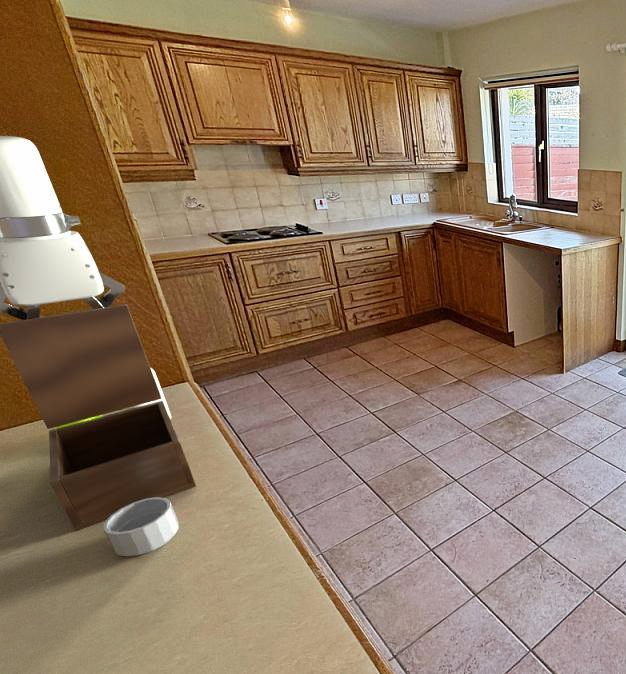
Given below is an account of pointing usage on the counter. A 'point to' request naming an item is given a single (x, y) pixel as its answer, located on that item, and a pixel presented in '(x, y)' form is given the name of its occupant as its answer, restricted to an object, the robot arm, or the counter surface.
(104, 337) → the lid
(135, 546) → the bowl
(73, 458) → the chest
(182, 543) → the counter surface
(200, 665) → the counter surface
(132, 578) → the counter surface
